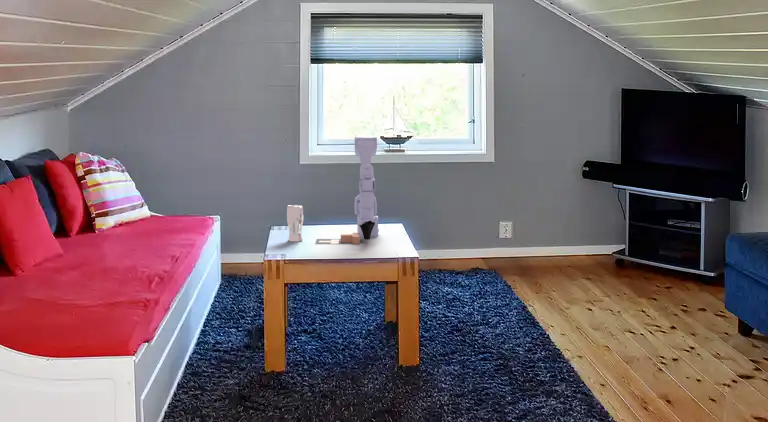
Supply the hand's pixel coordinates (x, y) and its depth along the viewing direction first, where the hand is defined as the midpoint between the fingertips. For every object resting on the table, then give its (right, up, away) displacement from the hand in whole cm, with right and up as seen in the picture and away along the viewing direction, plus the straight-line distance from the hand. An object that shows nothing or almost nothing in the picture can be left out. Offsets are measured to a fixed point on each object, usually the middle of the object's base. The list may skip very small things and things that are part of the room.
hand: (366, 239), depth 316 cm
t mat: (-12, -1, 0) cm, 12 cm away
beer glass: (-31, -1, +3) cm, 31 cm away
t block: (-7, -1, 0) cm, 7 cm away
